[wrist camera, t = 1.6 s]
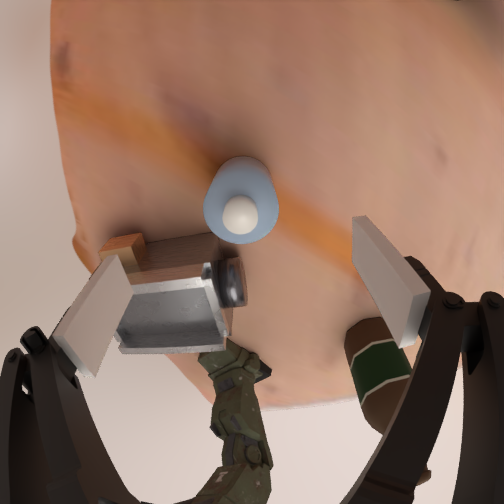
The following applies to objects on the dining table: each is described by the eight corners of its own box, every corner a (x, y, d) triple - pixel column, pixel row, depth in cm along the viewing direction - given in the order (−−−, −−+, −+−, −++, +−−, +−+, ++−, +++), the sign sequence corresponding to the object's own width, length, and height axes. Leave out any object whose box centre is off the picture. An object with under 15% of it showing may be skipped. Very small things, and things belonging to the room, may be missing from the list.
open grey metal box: (232, 210, 27) (226, 250, 20) (250, 296, 33) (250, 348, 26) (105, 234, 28) (71, 273, 22) (138, 308, 34) (118, 353, 27)
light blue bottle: (267, 151, 24) (275, 173, 17) (275, 206, 27) (284, 247, 20) (209, 161, 25) (191, 187, 18) (220, 214, 28) (209, 258, 20)
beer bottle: (393, 338, 38) (445, 473, 17) (348, 358, 39) (383, 499, 19) (387, 307, 34) (455, 464, 13) (336, 329, 36) (379, 497, 15)
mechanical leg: (292, 380, 40) (271, 562, 13) (258, 396, 43) (220, 558, 15) (234, 324, 38) (153, 531, 10) (200, 345, 41) (114, 519, 13)
